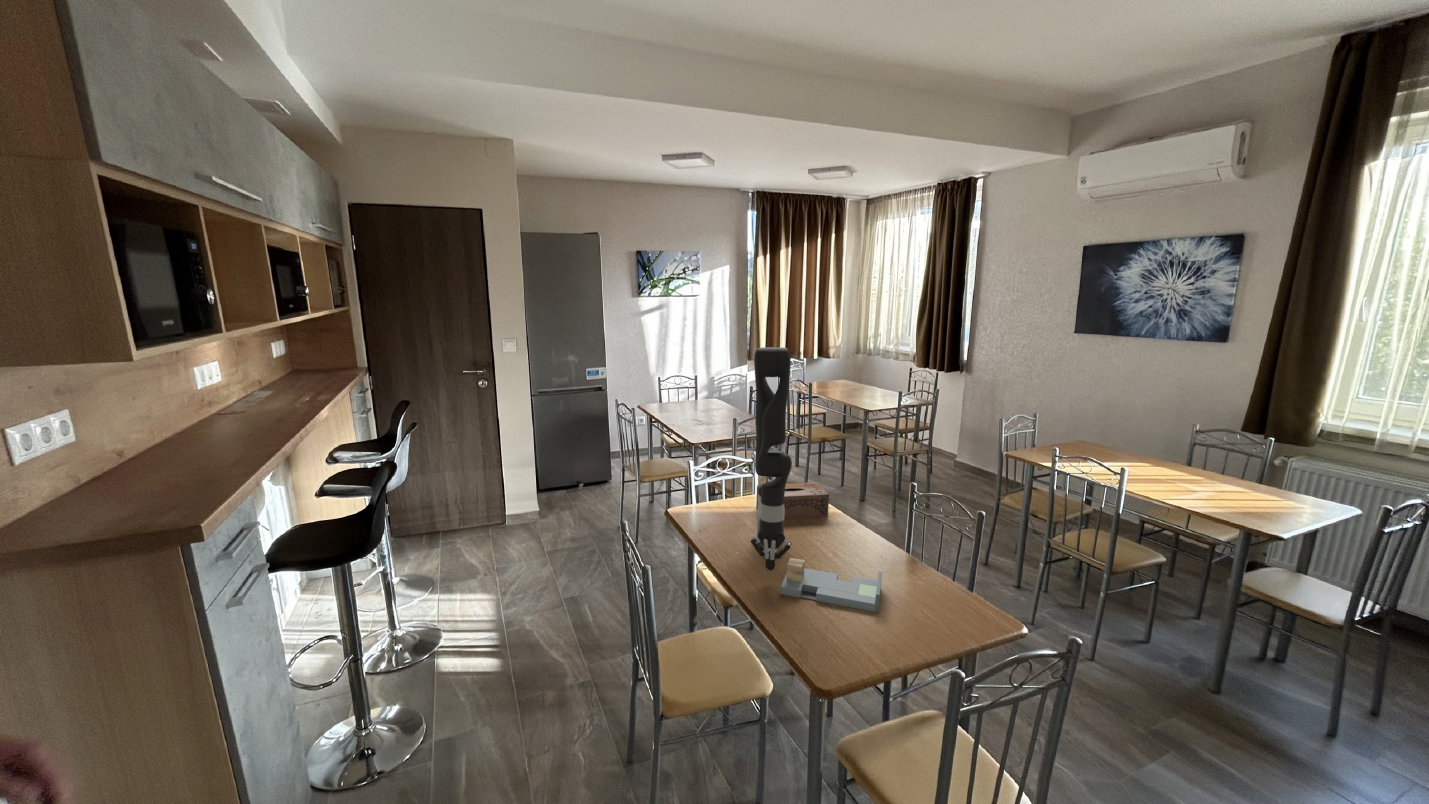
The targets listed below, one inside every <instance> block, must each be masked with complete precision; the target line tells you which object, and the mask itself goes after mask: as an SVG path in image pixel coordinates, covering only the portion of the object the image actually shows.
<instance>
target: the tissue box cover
mask: <svg viewBox="0 0 1429 804" xmlns="http://www.w3.org/2000/svg"><path fill="white" fill-rule="evenodd" d="M760 485H761V484H757V485H756V503H755V505H756V509H757V510H758V489H759V486H760ZM829 500H830V493H828V492H827V491H826V489H824V488H823V487H822V486H821V485H820V484H819V483H817V482H798V483H786V486H785V494H784V508H785V515H784V521H791V520H794V521H795V520H806V519H809V520H810V519H823V518H822V517H827V518H828V517H829V505H830V503H829V502H830V501H829Z"/></svg>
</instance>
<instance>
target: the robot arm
mask: <svg viewBox="0 0 1429 804" xmlns="http://www.w3.org/2000/svg"><path fill="white" fill-rule="evenodd" d="M753 361H754V362H753V363H754V364H753V365H754V377H755V378H754V379H755V435H756V437H755V438H756V442H755V456H754V468H755V473H756V475H758V476H760V477H765V478H766V477H767V478H774V479H772V480H769V481H767V482H765V483H762V484H759V485H760V486H759V489H758V509H757V519H756V520H757V526H756V527H757V528H756V536H753V537H752V538H751V540H750V543H751V544H752V546H753V547H754V549H755V551H756V552H757V554H758V555H759V556H760V557H763V558H764V559H765V562H764V563H765V564H764V565H765V566H764V567H765V569H766V570H767V571H770V572H773V570H774V569H775V567H776V560H780V559H781V558H782V557H783V556H784V555H785V554H786V553H787V552H788V551H789V550H790V548H791V547H792V545H793V544H792V542H790V541H787V539H786V536H785V534H784V533H785V520H784V515H785V508H784V494H785V486H786V484H787V481H788V479H789V475H790V473H791V470H792V467H793V465H792V464H793V461H792V458H791V456H790V455H789V454H788V453H786V452H784V451H782V450H769V449H770V448H772V447H775V446H780V445H784V444H785V442H786V436H787V435H786V432H787V431H786V428H787V426H786V425H787V424H786V422H787V421H786V418H787V417H786V416H787V415H786V414H787V406H788V405H787V404H788V397H789V388H790V379H791V378H790V376H791V361H792V360H791V353H790V350H789V348H787V347H781V346H779V347H777V346H776V347H775V346H773V347H772V346H771V347H769V346H768V347H766V346H765V347H758V348H757V349H756V350H755V352H754V359H753ZM767 378H779V382H778V386H777V389H776V391H775V393H774V391H773V390H772V389H771V387H770V385H769V383H768V381H767ZM781 545H782V548H781V549H780V551H778V552H777V550H778V548H779V547H780V546H781Z"/></svg>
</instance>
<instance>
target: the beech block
mask: <svg viewBox="0 0 1429 804" xmlns="http://www.w3.org/2000/svg"><path fill="white" fill-rule="evenodd" d="M805 561H806V560H805V559H800V558H799V559H797V558H793V557H789V560H788V561H787V564H786V574H787V580H792V581H797V582H802V579H803V577H804V568H805V566H806V565H805Z"/></svg>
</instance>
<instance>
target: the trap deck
mask: <svg viewBox="0 0 1429 804" xmlns="http://www.w3.org/2000/svg"><path fill="white" fill-rule="evenodd" d="M882 580H883V571H878V575H877V580H876V579H869V578H864V577H859V576H858V577H857V576H852V579H851V581H848V580H842V579H839V573H835V572H829V571H824V570H819V569H818V570H817V569H811V568H806V567H804V577H803V579H802V582H797V581H792V580H787V573H786V575H785V576H784V578H783V580H782V583H781V585H780V590H779V591H780V595H784V596H787V597H794V598H799V599H805V600H810V601H814V602H821V603H826V604H832V605H837V606H841V607H846V608H847V607H848V608H852V609H857V610H864V611H868V612H874V613H879V611H880V610H879V609H880V600H881V591H882V582H883V581H882Z"/></svg>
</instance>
